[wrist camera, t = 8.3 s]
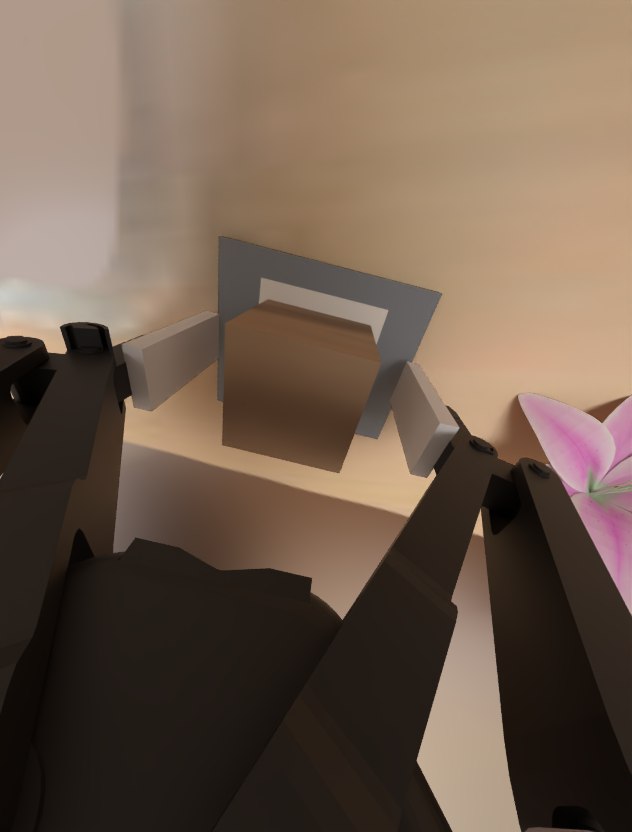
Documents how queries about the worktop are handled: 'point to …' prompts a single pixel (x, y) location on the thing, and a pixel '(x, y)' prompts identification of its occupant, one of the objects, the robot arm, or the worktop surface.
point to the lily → (592, 474)
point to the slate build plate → (328, 309)
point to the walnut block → (296, 383)
